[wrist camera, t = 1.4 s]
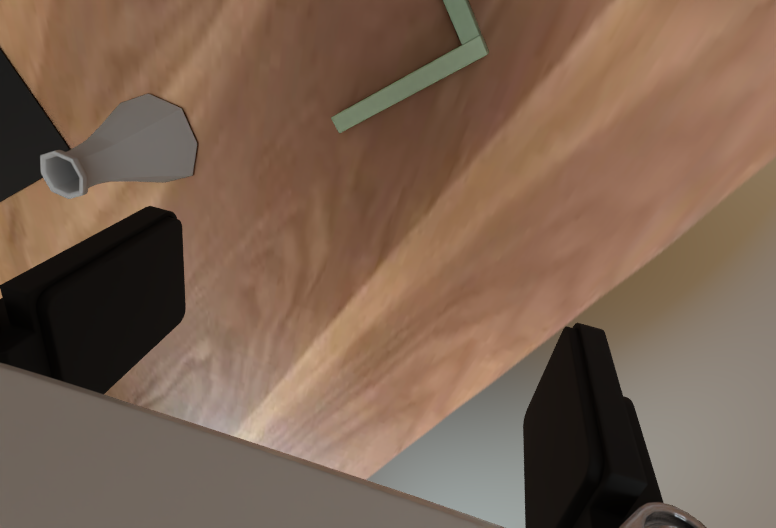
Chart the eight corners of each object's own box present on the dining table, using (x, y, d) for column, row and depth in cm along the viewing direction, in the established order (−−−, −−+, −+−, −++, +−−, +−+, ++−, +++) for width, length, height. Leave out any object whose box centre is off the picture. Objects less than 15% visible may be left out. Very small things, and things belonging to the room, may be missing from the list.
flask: (110, 89, 38) (-6, 113, 30) (192, 96, 37) (95, 123, 29) (130, 176, 42) (31, 220, 33) (205, 185, 41) (123, 233, 32)
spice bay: (253, -45, 32) (240, -48, 30) (402, -161, 27) (395, -171, 26) (346, 128, 36) (339, 133, 34) (489, 52, 31) (487, 54, 30)
